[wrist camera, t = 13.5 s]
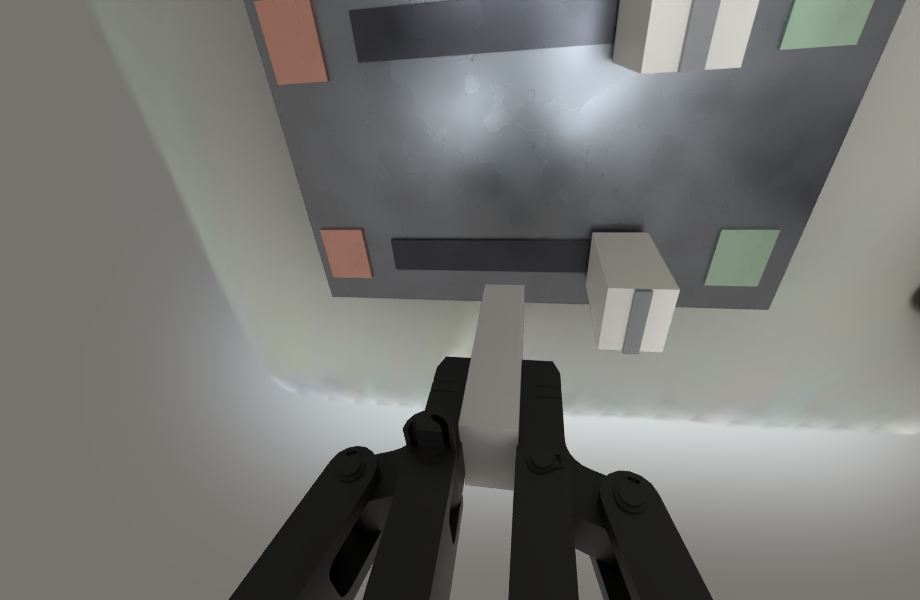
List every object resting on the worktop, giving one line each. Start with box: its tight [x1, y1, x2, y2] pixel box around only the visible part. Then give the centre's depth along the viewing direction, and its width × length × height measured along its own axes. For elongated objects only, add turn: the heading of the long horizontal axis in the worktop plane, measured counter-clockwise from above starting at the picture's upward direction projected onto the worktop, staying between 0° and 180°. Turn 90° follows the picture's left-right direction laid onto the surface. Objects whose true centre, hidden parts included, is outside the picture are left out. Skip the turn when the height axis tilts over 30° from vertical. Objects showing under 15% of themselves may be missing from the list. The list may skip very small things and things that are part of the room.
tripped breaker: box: [586, 232, 680, 354], centre depth 17 cm, size 3×2×5 cm
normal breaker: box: [612, 0, 759, 74], centre depth 12 cm, size 3×2×5 cm
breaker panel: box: [244, 0, 906, 310], centre depth 19 cm, size 16×24×2 cm, turn 94°
